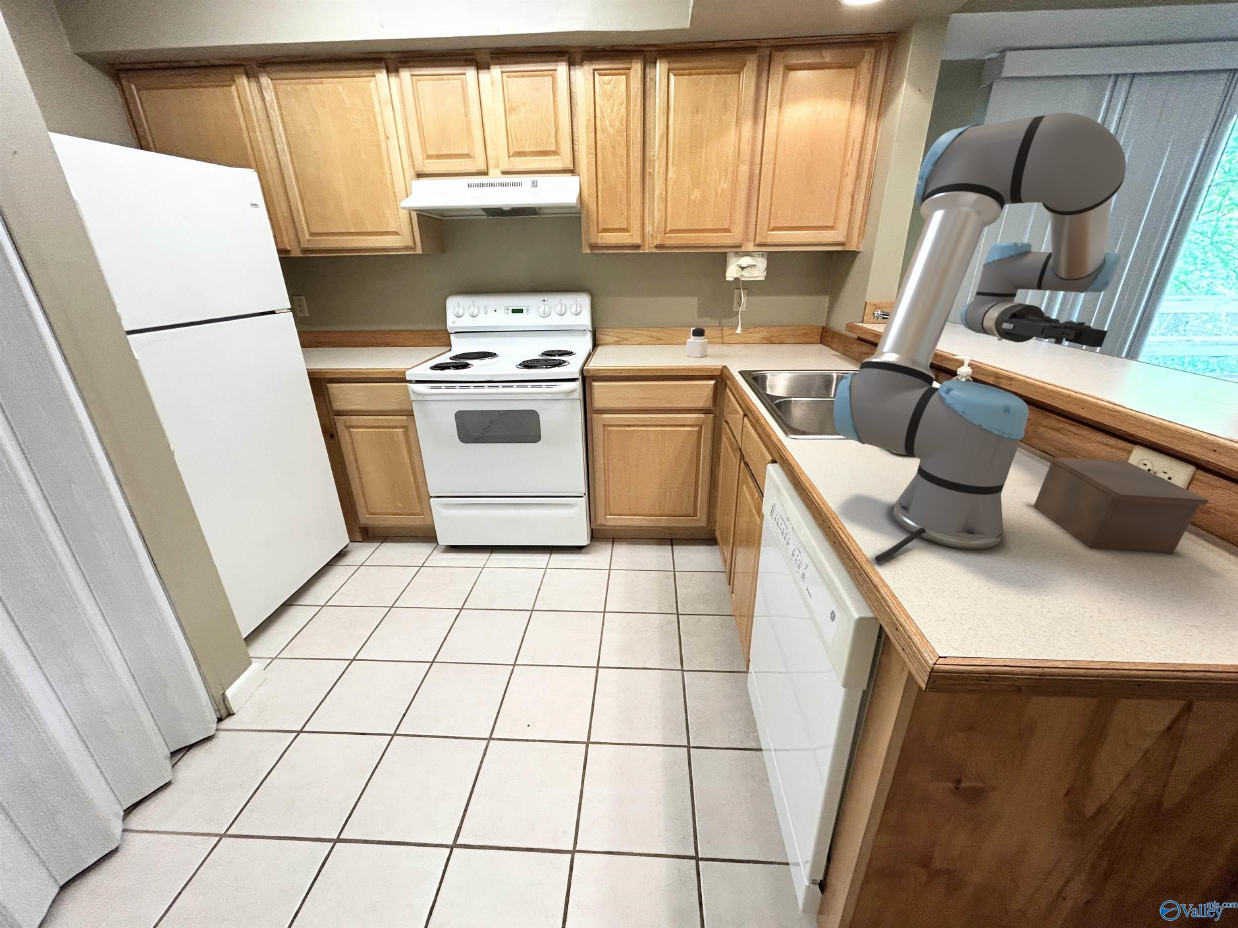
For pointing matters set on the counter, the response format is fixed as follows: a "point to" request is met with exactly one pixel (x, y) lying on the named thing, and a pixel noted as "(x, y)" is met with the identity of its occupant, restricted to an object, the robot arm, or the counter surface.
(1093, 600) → the counter surface
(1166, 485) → the lid
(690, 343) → the medicine bottle
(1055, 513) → the chest
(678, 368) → the counter surface
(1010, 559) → the counter surface
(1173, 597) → the counter surface
